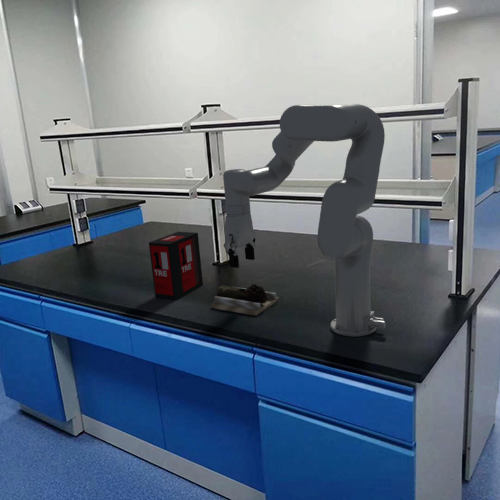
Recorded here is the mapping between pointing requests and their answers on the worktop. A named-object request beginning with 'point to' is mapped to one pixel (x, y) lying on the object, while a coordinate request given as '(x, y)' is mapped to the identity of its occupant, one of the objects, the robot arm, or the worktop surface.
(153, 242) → the cleaning product box
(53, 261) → the worktop surface
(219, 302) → the pipe cradle
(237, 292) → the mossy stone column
